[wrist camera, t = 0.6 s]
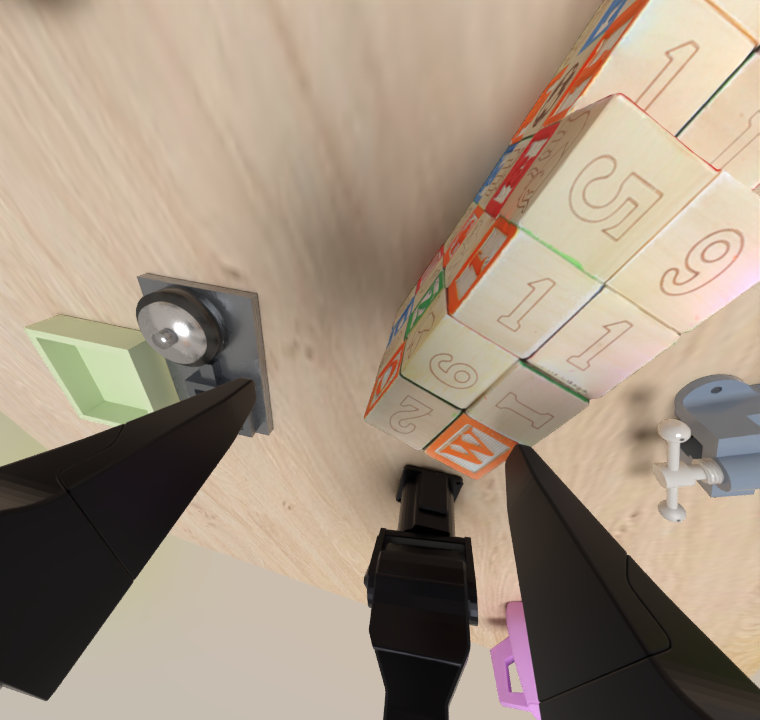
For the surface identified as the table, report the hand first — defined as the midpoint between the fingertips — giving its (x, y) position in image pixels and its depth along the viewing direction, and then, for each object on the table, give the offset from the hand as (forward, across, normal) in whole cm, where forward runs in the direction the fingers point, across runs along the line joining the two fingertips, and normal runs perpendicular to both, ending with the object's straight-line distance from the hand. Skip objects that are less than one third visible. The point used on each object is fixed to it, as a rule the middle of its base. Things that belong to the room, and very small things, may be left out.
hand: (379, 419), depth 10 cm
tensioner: (+14, +17, +11) cm, 25 cm away
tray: (+14, +29, +15) cm, 35 cm away
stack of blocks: (+14, -6, -7) cm, 17 cm away
